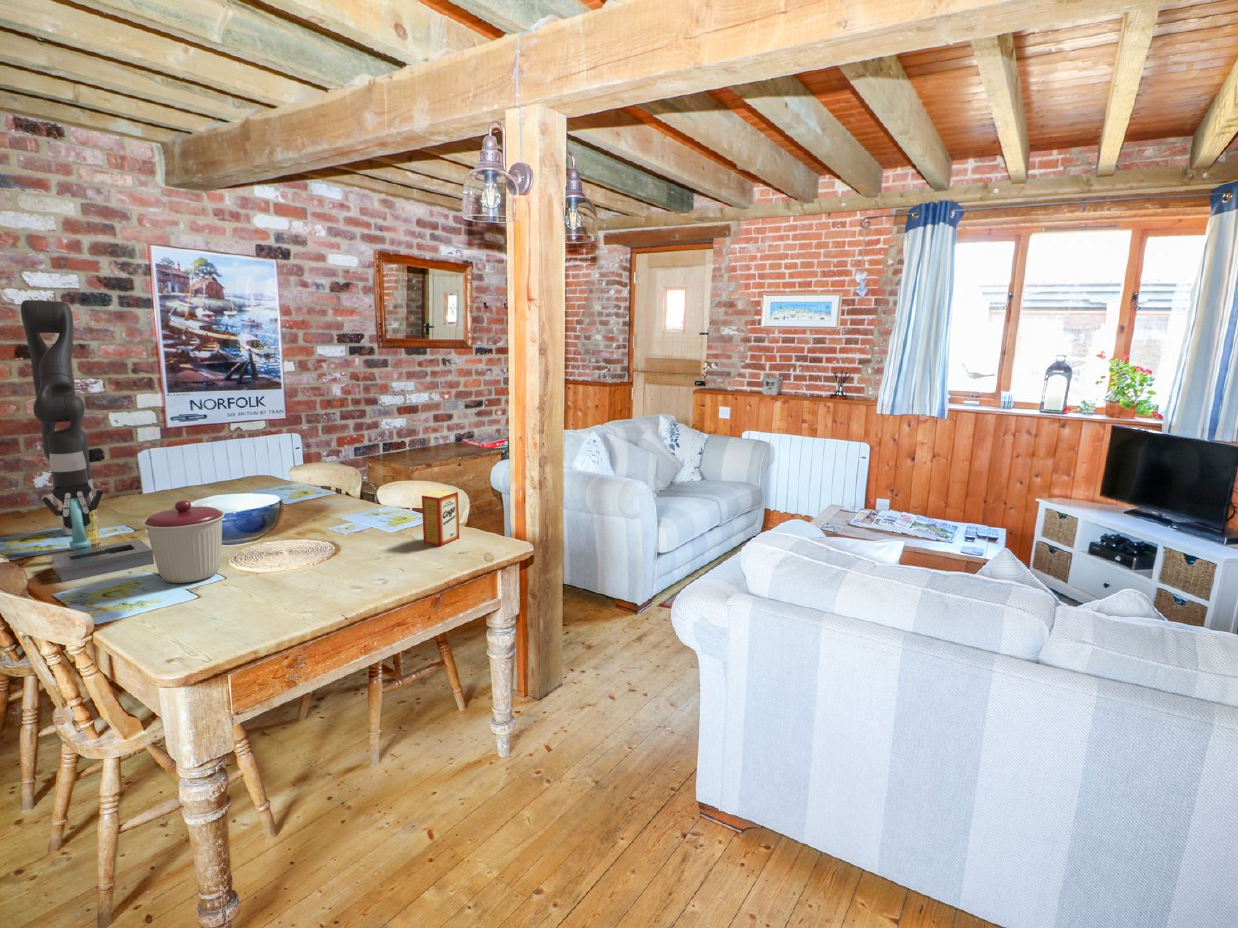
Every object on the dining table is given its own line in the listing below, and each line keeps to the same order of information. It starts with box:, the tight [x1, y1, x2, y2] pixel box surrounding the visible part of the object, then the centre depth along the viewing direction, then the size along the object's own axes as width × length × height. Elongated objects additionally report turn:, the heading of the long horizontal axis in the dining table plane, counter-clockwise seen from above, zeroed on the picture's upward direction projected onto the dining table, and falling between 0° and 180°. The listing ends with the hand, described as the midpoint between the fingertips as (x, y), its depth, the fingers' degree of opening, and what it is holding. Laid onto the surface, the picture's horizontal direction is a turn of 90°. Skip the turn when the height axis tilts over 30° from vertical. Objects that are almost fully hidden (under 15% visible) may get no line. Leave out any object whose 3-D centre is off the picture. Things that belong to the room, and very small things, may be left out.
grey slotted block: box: [50, 538, 155, 583], centre depth 179 cm, size 14×20×4 cm
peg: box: [68, 498, 91, 551], centre depth 183 cm, size 5×5×15 cm
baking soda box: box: [421, 489, 460, 548], centre depth 205 cm, size 10×6×16 cm
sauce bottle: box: [71, 495, 101, 549], centre depth 192 cm, size 6×6×20 cm
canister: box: [141, 500, 225, 584], centre depth 171 cm, size 18×18×21 cm
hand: (77, 526), depth 183 cm, fingers closed on peg, 3 cm apart
